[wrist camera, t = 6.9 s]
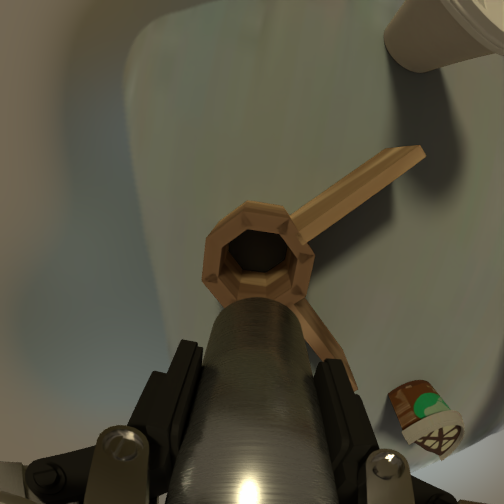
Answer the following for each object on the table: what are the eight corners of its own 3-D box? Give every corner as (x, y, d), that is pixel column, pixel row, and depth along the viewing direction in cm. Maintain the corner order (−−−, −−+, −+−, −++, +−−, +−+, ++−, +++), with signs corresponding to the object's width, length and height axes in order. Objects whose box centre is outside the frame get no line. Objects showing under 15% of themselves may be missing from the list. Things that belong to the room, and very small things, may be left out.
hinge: (446, 274, 28) (481, 298, 22) (309, 368, 32) (318, 410, 25) (365, 118, 24) (396, 105, 18) (200, 235, 28) (182, 256, 21)
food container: (449, 391, 34) (477, 433, 24) (420, 417, 35) (442, 461, 25) (417, 359, 32) (450, 409, 22) (382, 389, 33) (406, 444, 24)
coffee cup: (387, -3, 20) (448, -72, 6) (454, 48, 21) (537, 11, 7) (355, 48, 22) (423, -28, 8) (430, 103, 23) (531, 77, 9)
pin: (333, 346, 13) (406, 581, 2) (246, 394, 14) (231, 607, 3) (270, 262, 12) (297, 602, 1) (178, 325, 13) (73, 565, 2)
